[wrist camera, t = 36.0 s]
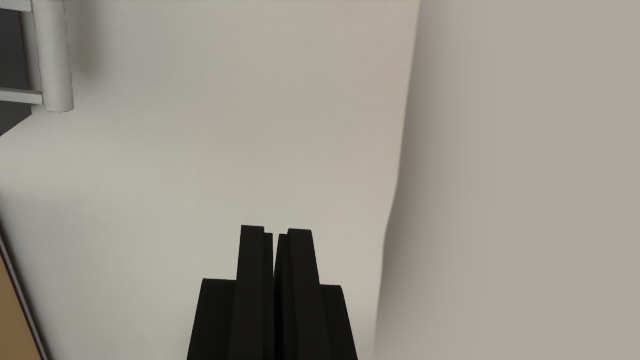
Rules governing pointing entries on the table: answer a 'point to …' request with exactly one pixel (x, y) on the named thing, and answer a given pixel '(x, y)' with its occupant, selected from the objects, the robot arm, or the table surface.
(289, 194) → the table surface
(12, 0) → the drawer
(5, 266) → the book
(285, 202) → the table surface
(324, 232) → the table surface
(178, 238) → the table surface
